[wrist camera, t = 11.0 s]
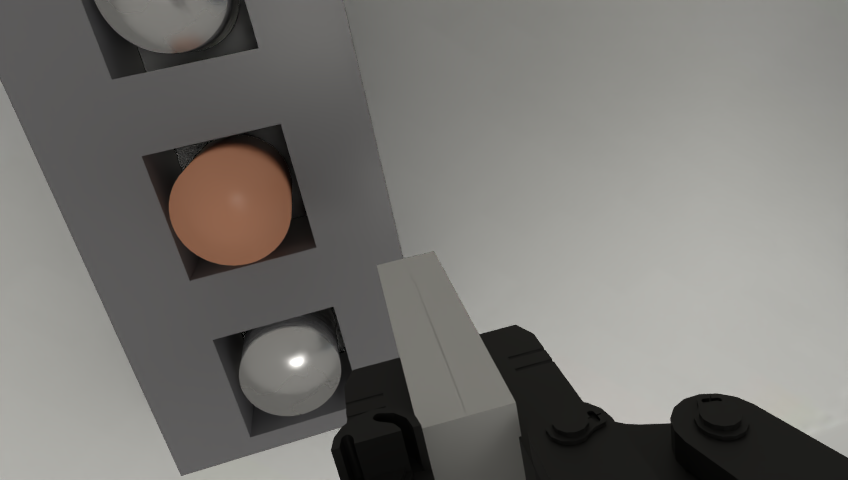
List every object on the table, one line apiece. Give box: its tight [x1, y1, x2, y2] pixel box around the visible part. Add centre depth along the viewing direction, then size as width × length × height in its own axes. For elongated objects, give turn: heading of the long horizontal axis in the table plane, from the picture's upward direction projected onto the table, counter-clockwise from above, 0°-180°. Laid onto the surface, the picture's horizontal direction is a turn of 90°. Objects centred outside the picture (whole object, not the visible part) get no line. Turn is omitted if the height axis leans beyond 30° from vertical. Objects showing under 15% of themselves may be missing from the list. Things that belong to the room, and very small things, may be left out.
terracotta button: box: [169, 134, 292, 266], centre depth 24 cm, size 4×4×4 cm
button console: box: [0, 0, 403, 476], centre depth 25 cm, size 12×23×5 cm, turn 11°
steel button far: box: [239, 308, 341, 416], centre depth 27 cm, size 4×4×4 cm
